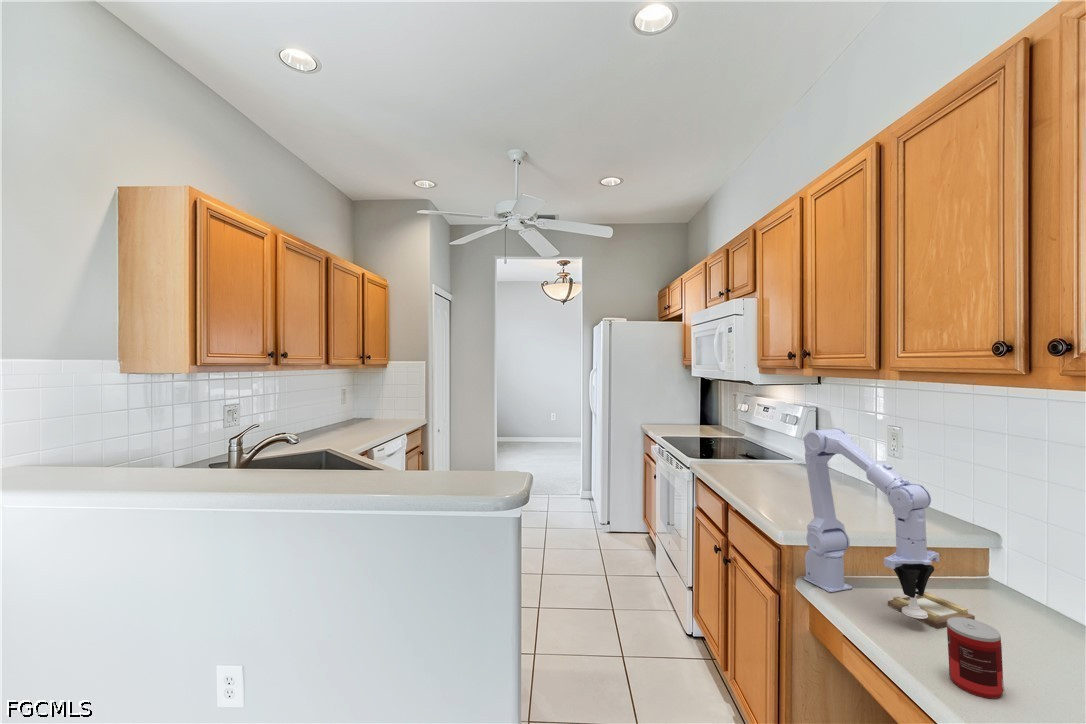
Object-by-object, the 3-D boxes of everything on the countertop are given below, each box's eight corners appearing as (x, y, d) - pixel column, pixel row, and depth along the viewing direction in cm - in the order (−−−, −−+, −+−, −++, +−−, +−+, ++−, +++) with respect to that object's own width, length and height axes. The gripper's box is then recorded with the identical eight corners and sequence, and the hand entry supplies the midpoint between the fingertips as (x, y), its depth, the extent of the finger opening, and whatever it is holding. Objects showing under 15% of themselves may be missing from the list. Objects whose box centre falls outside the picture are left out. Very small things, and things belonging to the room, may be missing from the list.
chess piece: (899, 607, 115) (896, 565, 116) (925, 611, 113) (921, 568, 114) (903, 616, 111) (899, 571, 112) (930, 620, 109) (926, 575, 110)
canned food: (975, 671, 95) (972, 615, 96) (1016, 698, 87) (1013, 637, 88) (938, 673, 95) (935, 617, 95) (976, 700, 87) (972, 639, 87)
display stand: (887, 605, 123) (887, 596, 123) (923, 598, 126) (922, 589, 126) (937, 628, 111) (936, 618, 111) (974, 620, 114) (974, 610, 114)
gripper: (903, 545, 107) (906, 607, 107) (952, 538, 111) (954, 598, 110) (874, 535, 114) (877, 593, 113) (920, 529, 118) (923, 585, 117)
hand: (913, 595), depth 112 cm, fingers closed on chess piece
